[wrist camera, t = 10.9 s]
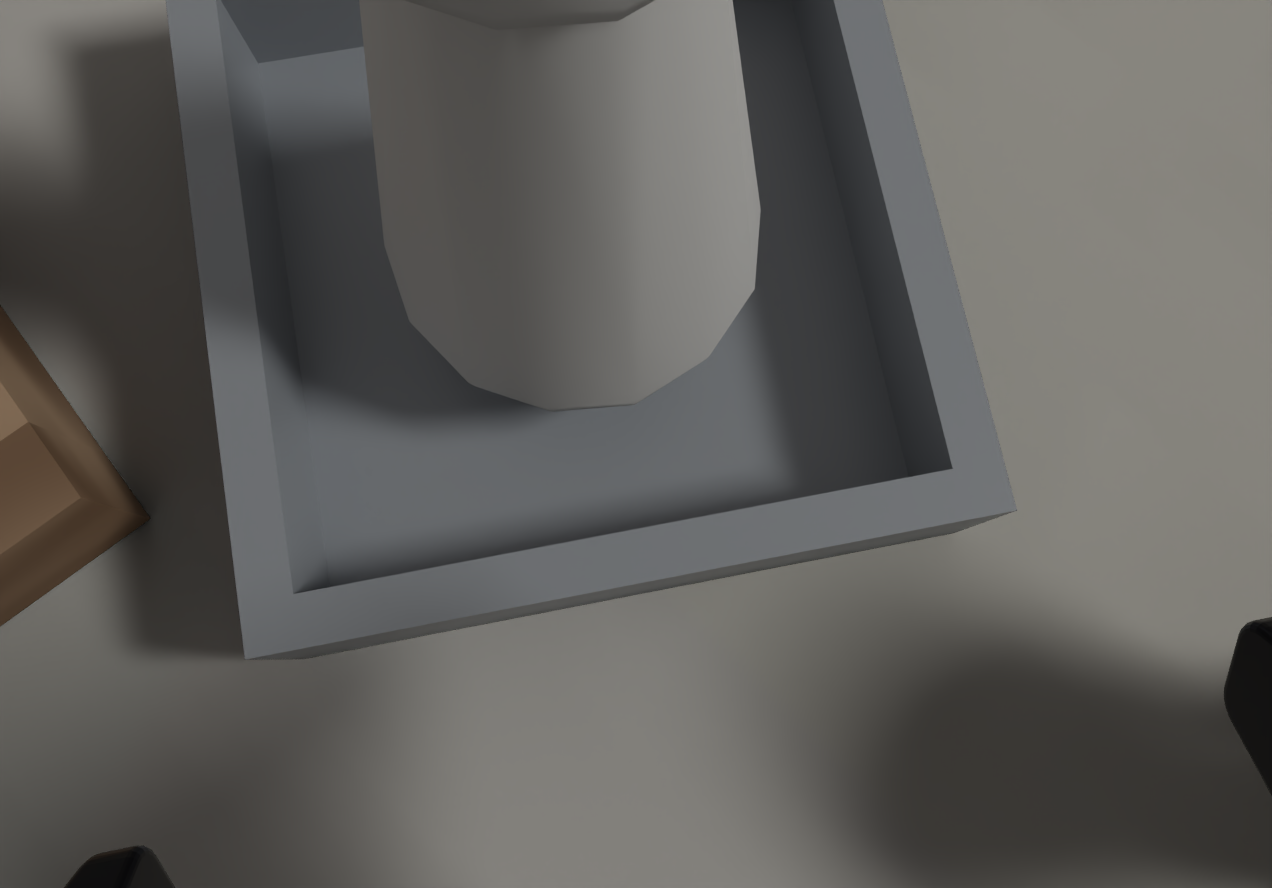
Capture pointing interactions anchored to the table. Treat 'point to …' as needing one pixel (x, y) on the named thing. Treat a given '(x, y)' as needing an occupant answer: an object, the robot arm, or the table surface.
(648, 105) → the salt shaker
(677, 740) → the table surface
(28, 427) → the walnut socket
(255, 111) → the grey tray
